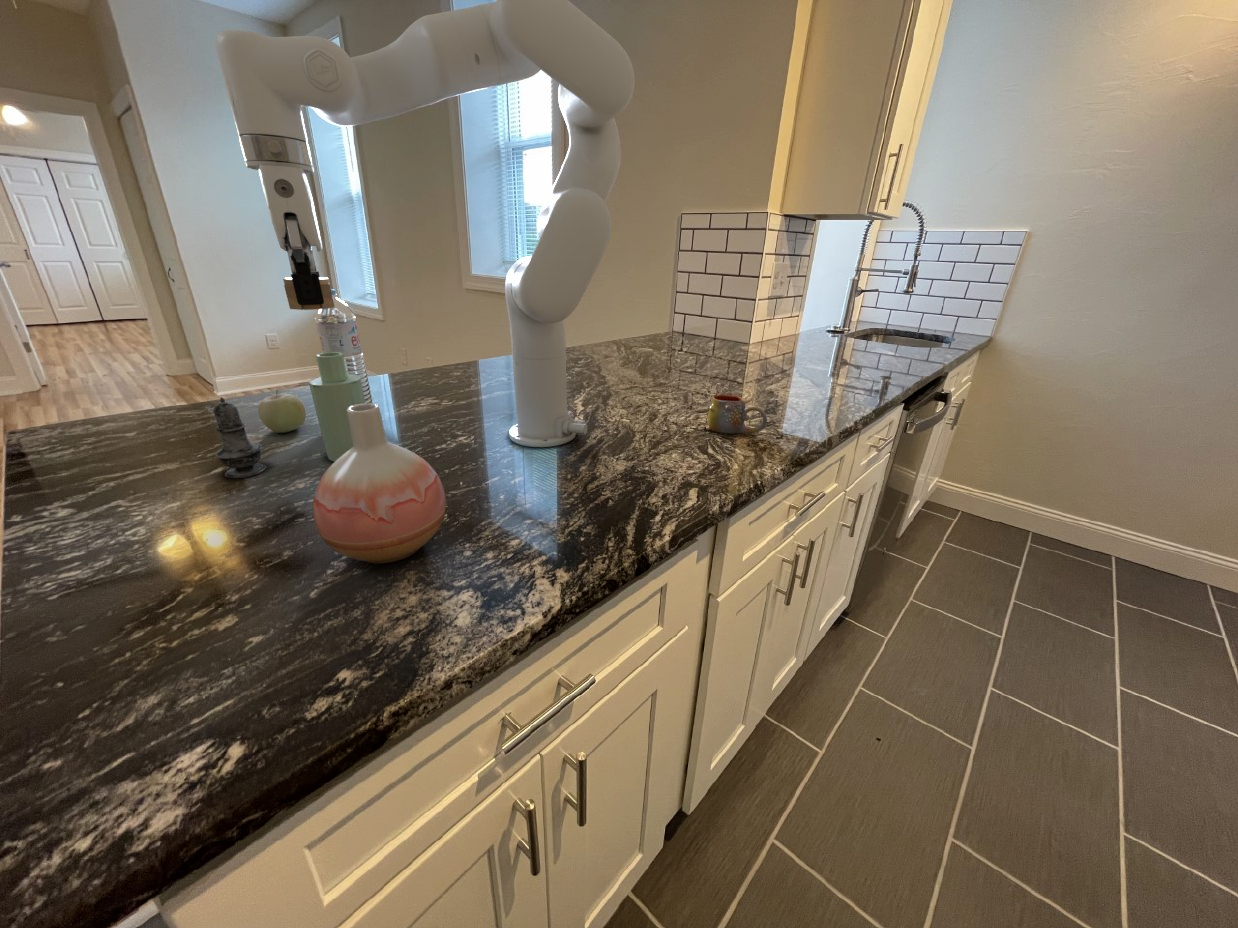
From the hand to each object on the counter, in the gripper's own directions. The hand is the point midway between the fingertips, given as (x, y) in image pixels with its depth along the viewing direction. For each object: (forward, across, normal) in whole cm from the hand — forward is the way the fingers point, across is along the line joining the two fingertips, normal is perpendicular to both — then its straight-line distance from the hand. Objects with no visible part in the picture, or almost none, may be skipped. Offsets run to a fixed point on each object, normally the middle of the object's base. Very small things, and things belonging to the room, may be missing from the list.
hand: (311, 300), depth 71 cm
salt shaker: (+25, +2, +14) cm, 29 cm away
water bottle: (+26, +22, -2) cm, 34 cm away
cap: (+1, 0, 0) cm, 1 cm away
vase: (+25, -31, -4) cm, 40 cm away
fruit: (+25, +20, +10) cm, 34 cm away
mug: (+26, -19, -68) cm, 75 cm away
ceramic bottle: (+25, +2, -1) cm, 25 cm away
